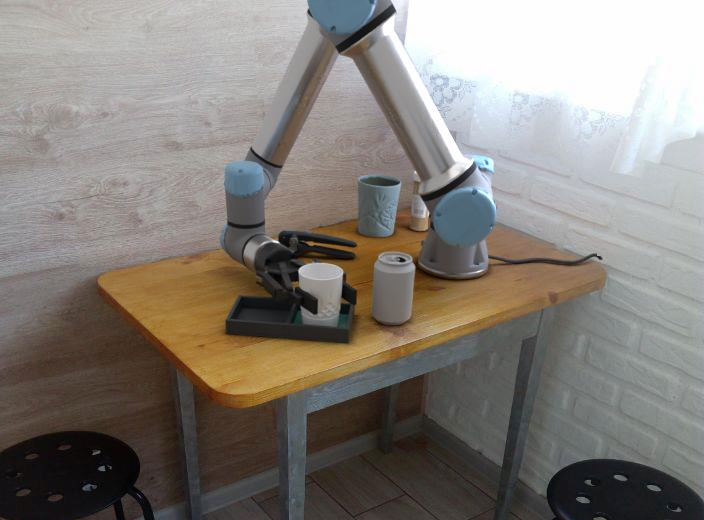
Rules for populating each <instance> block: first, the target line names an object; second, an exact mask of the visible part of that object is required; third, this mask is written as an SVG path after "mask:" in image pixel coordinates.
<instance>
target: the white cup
mask: <svg viewBox="0 0 704 520" xmlns="http://www.w3.org/2000/svg"><path fill="white" fill-rule="evenodd" d="M311 263H312V262H311ZM306 264H307V265H304V266H302V267H301V268H300V269H299V271H298V272H299V282H298V287H300V288H301V289H302V290H304V291H306V292H307V293H309V294H310V295H312V296H314V297H315V298H317V299H318V314H316V315H313V314H312V313H310V312H309V311H308V310H306V309H305V308H303V307H302V306H300V307H301V317H302V324H306V325H319V326H333V327H337V325H338V323H339V312H340V306H341V302H342V298H341V296H342V282H343V272H344V269H342V268H341V267H340V266H338V265H336V264H332V263H328V262H322V263H312V264H308V263H306Z"/></svg>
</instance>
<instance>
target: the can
mask: <svg viewBox="0 0 704 520" xmlns="http://www.w3.org/2000/svg"><path fill="white" fill-rule="evenodd" d="M413 260H414V259H413V257H412V256H411V255H410V254H408V253H405V252H401V251H385V252H382V253H380V254H379V255H378V257H377V260H376V261H375V262H374V265H373V280H372V295H371V296H372V297H371V317H373V318H374V319H375V320H376V322H378V323H380V324H383V325H387V326H397V325H398V326H399V325H402V324H405V322H407V321H408V320H409V319H410V318H411V317H412V310H413V309H412V308H413V299H414V298H413V297H414V287H415V276H416V275H415V274H416V265H415V264H414V262H413Z"/></svg>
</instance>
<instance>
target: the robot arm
mask: <svg viewBox="0 0 704 520" xmlns="http://www.w3.org/2000/svg"><path fill="white" fill-rule="evenodd" d="M306 3H307V7H308V8H307V11H306V13H305V14H306V17H307V24H306V26H305V28H304V31H303V33H302V35H301V37H300V39H299V41H298V44H297V45H296V47H295V50H294V52H293V54H292V56H291V59H290V61H289V63H288V65H287V67H286V69H285V71H284V74H283V76H282V77H281V81H280V82H279V85H278V86H277V89H276V90H275V93H274V95H273V97H272V100H271V102H270V104H269V105H268V109H267V110H266V113H265V115H264V117H263V119H262V121H261V123H260V126H259V128H258V130H257V132H256V134H255V136H254V138H253V141H252V143H251V145H250V147H249V149H248V151H247V154H246V155H245V158H244V159H243V160H238V161H233V162H229V163H227V164H226V166H225V168H224V181H223V186H224V191H225V207H226V208H225V209H226V224H225V225H224V226H223V228H222V231H221V233H220V236H219V241H220V243H219V244H220V247H221V248H222V250H223V251H224V252H225V254H226V255H228V256H229V258H231V260H233V261H235V262H237V263H238V264H240V265H241V266H244V267H245V268H247V269H248V270H249V271H251V272H253V273H254V274H255V285H257V286H259V287H261V288H263V290H264V291H266V293H268V294H269V296H270V297H273V298H274V299H275V300H276V301H277V302H283V299H286V300H287V305H293V302H294V303H295V304H296V305H300V306H302V307H303V308H305V309H306V310H308V311H309V312H310V313H312V314H313V315H316V314H318V299H317V298H315V297H314V296H312V295H310V294H309V293H307V292H306V291H304V290H302V289H301V288H300V287H299V286H294V285H293V283H299V272H298V271H299V269H300V268H301V267H302V266H304V265H307V264H312V263H323V262H321V260H319V258H312V260H311V262H310V263H307V262H305V261H303V260H300V259H298V257H297V256H295V254H294V253H293V252H292V251H291V250H290V249H289V248H287V247H285V246H284V245H282V244H280V243H279V241H278V240H275V238H272V237H270V236H269V235H267V234H266V214H265V212H266V210H265V209H266V207H265V206H266V205H265V204H266V203H265V202H266V200H267V197H268V196H269V195H270V192H271V191H272V190H273V189H274V187H275V185H276V183H277V182H278V178H279V176H280V174H281V172H282V170H283V168H284V165H285V163H286V161H287V159H288V157H289V156H290V154H291V151H292V149H293V147H294V146H295V143H296V141H297V139H298V138H299V135H300V133H301V131H302V129H303V127H304V126H305V123H306V121H307V119H308V118H309V115H310V113H311V111H312V109H313V107H314V106H315V103H316V101H317V99H318V97H319V95H320V93H321V91H322V89H323V88H324V86H325V84H326V82H327V80H328V77H329V75H330V73H331V72H332V69H333V67H334V66H335V63H336V62H337V59H338V57H339V56H340V57H341V56H342V57H346V58H350V59H351V60H352V61H353V63H354V64H355V66H356V68H357V70H358V71H359V73H360V75H361V77H362V78H363V80H364V82H365V84H366V86H367V87H368V89H369V91H370V93H371V94H372V97H373V99H374V100H375V101H376V104H377V105H378V108H379V109H380V110H381V112H382V114H383V116H384V118H385V119H386V121H387V123H388V125H389V126H390V129H391V130H392V132H393V134H394V135H395V138H396V139H397V141H398V142H399V144H400V146H401V148H402V150H403V152H404V153H405V155H406V157H407V159H408V160H409V162H410V165H411V166H412V168H413V170H414V171H416V173H417V174H418V176H419V178H420V186H419V190H418V193H419V195H420V197H421V198H422V200H423V202H424V204H425V206H426V207H427V209H428V211H429V213H430V214H429V215H430V222H429V223H430V224H429V228H428V232H427V235H426V237H425V239H424V240H421V241H420V247H421V248H420V251H419V253H418V258H417V259H418V260H417V266H418V268H419V269H420V270H421V271H423V272H424V273H426V274H428V275H431V276H434V277H438V278H442V279H447V280H469V279H470V280H471V279H476V278H479V277H482V276H484V275H485V274H487V272H488V270H489V261H490V260H495V261H500V262H503V263H507V264H523V263H530V262H548V263H554V264H563V265H577V264H581V263H583V262H585V261H588V260H589V259H591V258H597V259H598V260H599V261H603V257H602V256H601V255H600V256H597V254H598V253H595V252H593V253H590V254H588V255H586V256H584V257H581V258H579V259H576V260H564V259H557V258H549V257H529V258H523V259H511V258H510V259H509V258H506V257H501V256H497V255H491V254H489V253H488V248H487V242H486V238H488V237H489V235H490V234H491V232H492V231H493V229H494V227H495V225H496V221H497V216H498V215H497V214H498V206H497V202H496V201H495V197H494V193H493V188H492V181H493V175H494V174H495V170H494V166H495V165H494V164H495V163H494V160H493V159H492V158H490V157H488V156H484V155H477V154H465V153H461V151H460V149H459V147H458V146H457V143H456V142H455V140H454V137H453V136H452V133H451V131H450V130H449V128H448V126H447V124H446V122H445V121H444V118H443V117H442V114H441V113H440V112H439V109H438V108H437V105H436V103H435V102H434V100H433V98H432V96H431V94H430V92H429V91H428V89H427V86H426V84H425V83H424V81H423V79H422V77H421V75H420V73H419V71H418V69H417V67H416V65H415V64H414V61H413V60H412V58H411V56H410V54H409V52H408V51H407V49H406V47H405V45H404V43H403V41H402V39H401V37H400V35H399V34H398V31H397V30H396V22H397V16H398V11H397V9H396V7H395V6H394V4H393V2H392V0H306ZM489 259H490V260H489ZM347 277H348V276H347V272H345V271H343V282H342V296H341V300H344V301H346V303H350V304H352V305H355V306H356V305H357V304H358V303H357V301H358V300H357V299H358V289H356V288H355V287H354V286H351V284H349V283H347Z"/></svg>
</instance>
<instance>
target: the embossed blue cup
mask: <svg viewBox="0 0 704 520" xmlns="http://www.w3.org/2000/svg"><path fill="white" fill-rule="evenodd" d="M402 184H403V183H402V181H401V179H400V178H398V177H395V176H392V175H387V174H376V173H375V174H366V175H360V176H359V177H358V178H357V201H358V202H357V206H358V207H357V211H358V212H357V222H358V223H357V231H358V233H359V234H361V235H362V236H364V237H369V238H386V237H390V236H393V234H394V230H395V223H396V216H397V210H398V204H399V200H400V194H401V190H402V189H401V188H402Z"/></svg>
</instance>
